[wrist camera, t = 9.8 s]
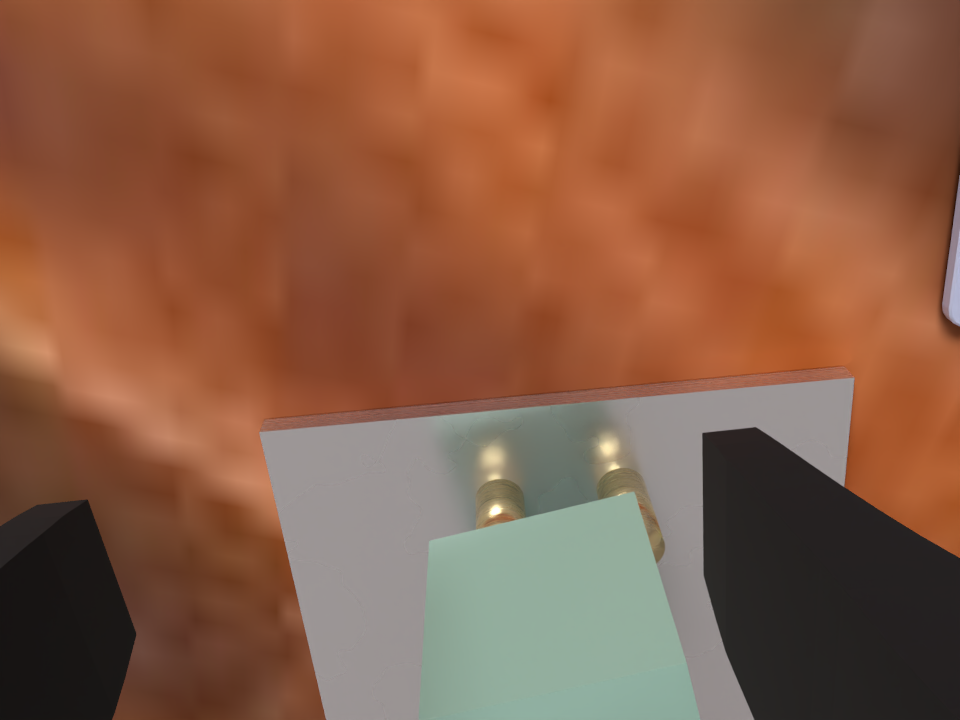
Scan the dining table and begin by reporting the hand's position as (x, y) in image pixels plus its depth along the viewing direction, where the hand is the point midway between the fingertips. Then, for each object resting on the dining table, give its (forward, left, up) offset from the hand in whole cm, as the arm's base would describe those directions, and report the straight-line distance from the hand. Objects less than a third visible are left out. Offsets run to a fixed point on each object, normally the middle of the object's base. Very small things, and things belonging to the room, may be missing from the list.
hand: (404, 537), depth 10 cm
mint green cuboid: (-2, +10, -7) cm, 12 cm away
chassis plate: (-2, +10, -10) cm, 14 cm away
